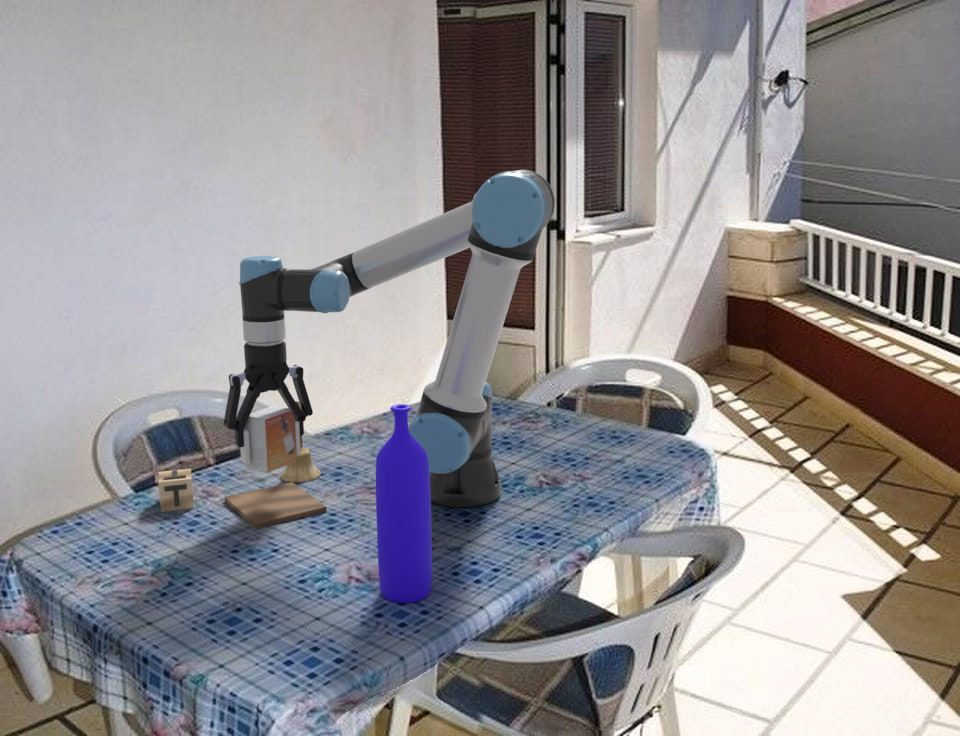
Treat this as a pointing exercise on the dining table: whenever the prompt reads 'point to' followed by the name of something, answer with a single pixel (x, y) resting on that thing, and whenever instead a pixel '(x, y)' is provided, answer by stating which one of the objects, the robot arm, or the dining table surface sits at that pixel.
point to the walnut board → (274, 504)
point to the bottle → (403, 515)
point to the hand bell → (301, 466)
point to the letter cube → (175, 490)
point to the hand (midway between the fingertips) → (271, 457)
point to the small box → (271, 438)
